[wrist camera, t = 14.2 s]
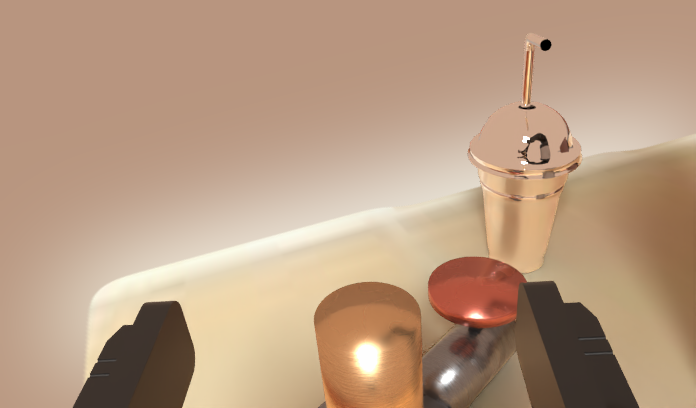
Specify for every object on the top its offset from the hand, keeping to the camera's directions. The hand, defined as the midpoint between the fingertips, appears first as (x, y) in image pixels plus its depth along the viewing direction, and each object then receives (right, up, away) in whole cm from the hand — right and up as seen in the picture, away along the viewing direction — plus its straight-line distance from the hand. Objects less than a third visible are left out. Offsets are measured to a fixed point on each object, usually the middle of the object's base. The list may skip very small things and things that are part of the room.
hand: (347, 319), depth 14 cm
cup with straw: (+14, -2, +37) cm, 39 cm away
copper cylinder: (+2, -13, +20) cm, 24 cm away
